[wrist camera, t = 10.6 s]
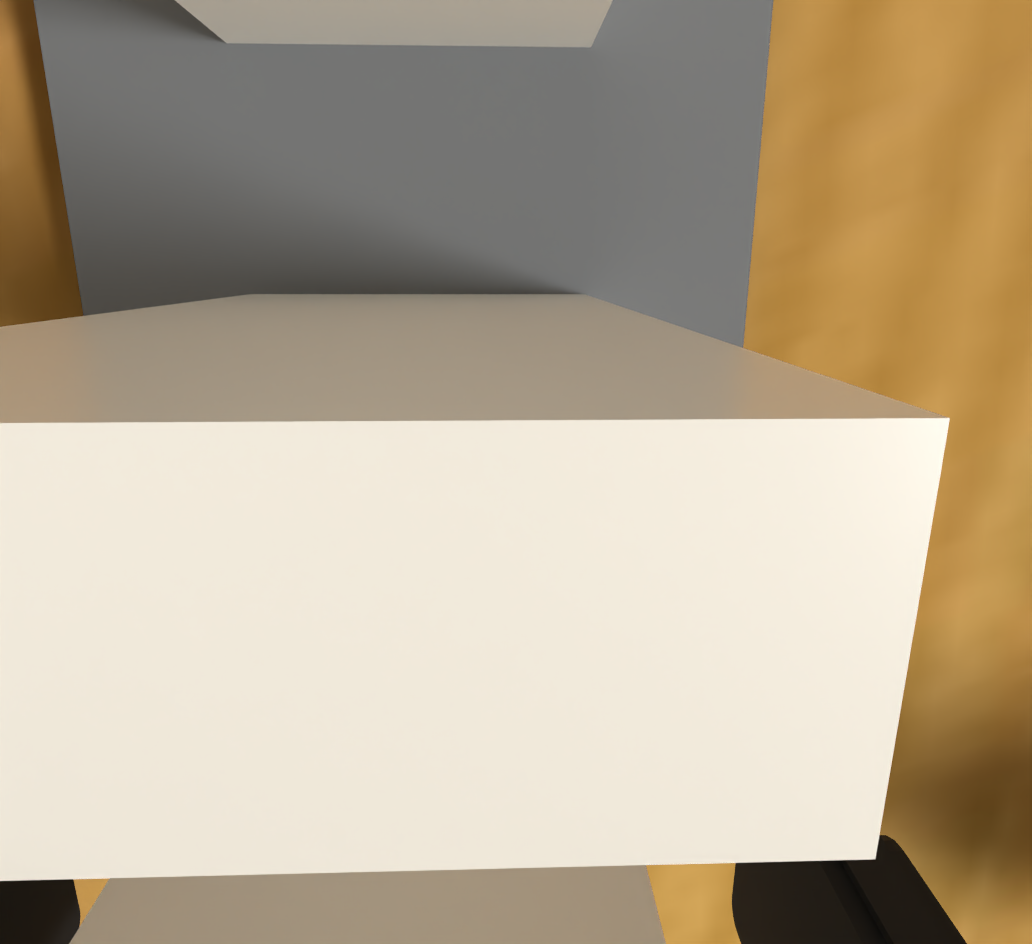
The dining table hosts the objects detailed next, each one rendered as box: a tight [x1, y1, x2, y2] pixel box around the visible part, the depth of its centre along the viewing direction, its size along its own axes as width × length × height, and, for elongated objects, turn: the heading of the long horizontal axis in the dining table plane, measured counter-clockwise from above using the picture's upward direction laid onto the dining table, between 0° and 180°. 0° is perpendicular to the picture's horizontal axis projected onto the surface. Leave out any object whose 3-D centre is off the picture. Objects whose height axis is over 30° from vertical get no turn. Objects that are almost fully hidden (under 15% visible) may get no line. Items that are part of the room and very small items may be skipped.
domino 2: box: [69, 865, 666, 944], centre depth 10 cm, size 2×6×11 cm, turn 91°
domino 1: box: [0, 294, 950, 881], centre depth 8 cm, size 2×6×11 cm, turn 90°
